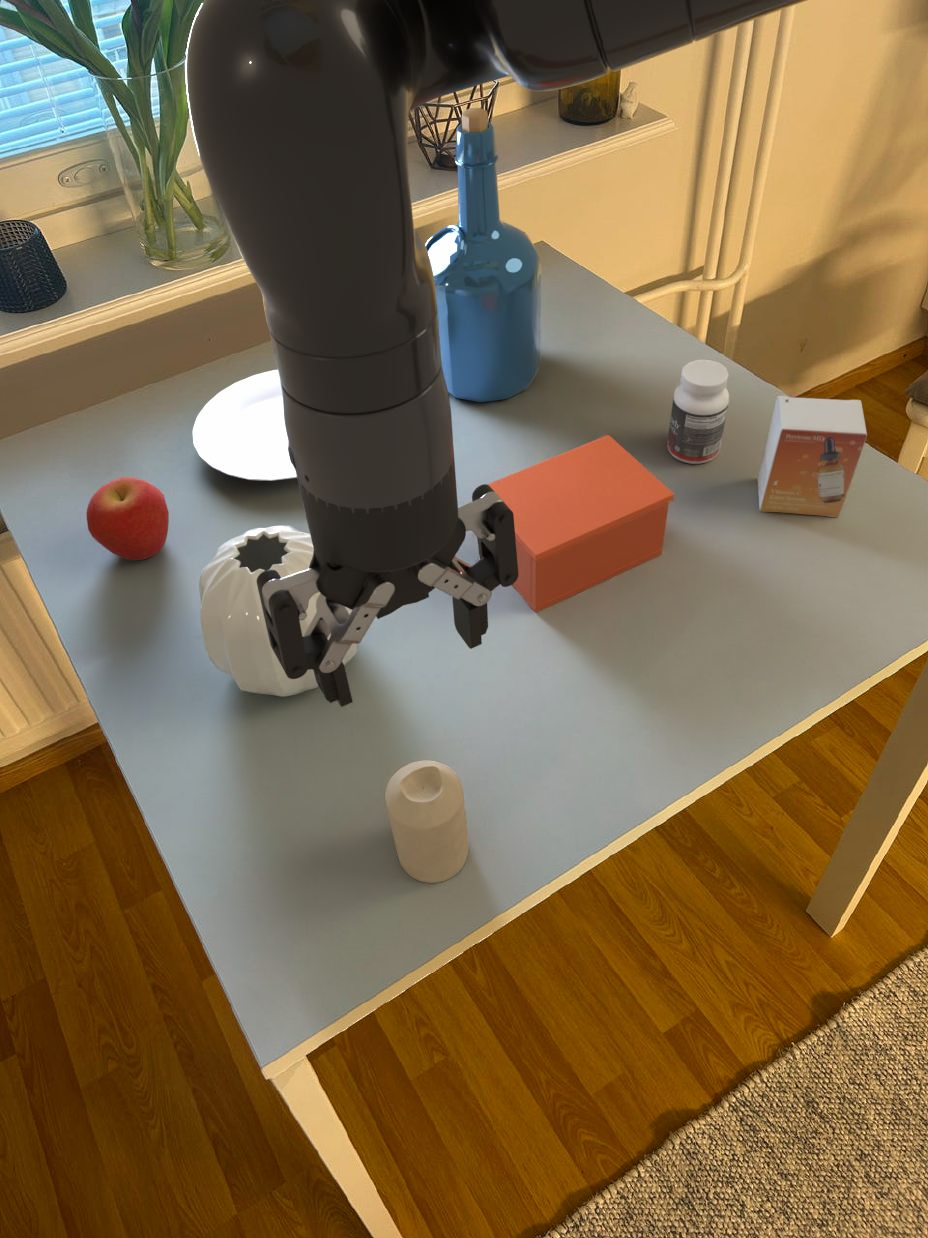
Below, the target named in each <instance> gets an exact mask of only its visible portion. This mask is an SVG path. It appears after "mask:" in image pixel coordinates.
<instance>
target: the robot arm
mask: <svg viewBox="0 0 928 1238" xmlns="http://www.w3.org/2000/svg"><path fill="white" fill-rule="evenodd" d="M807 1H808V0H203V1H202V3H201V4H200V6H199V8H198V10H197V12H196V14H195V17H194V20H193V22H192V25H191V29H190V32H189V37H188V41H187V46H186V47H187V48H186V55H185V56H186V57H185V85H186V87H185V88H186V96H187V103H188V104H187V105H188V109H189V117H190V122H191V128H192V133H193V137H194V141H195V145H196V148H197V152H198V156H199V159H200V162H201V166H202V167H203V171H204V174H205V176H206V179H207V181H208V184H209V186H210V189H211V191H212V193H213V196H214V198H215V200H216V203H217V206H218V207H219V209H220V211H221V214H222V216H223V218H224V220H225V222H226V224H227V227H228V229H229V231H230V233H231V236H232V237H233V240H234V242H235V244H236V247H237V249H238V251H239V253H240V255H241V257H242V261H244V264H245V266H246V268H247V269H248V271H249V273H250V275H251V276H252V278H253V280H254V281H255V283H256V285H257V287H258V288H259V291H260V292H261V295H262V302H263V304H262V305H263V309H264V316H265V320H266V324H267V327H268V328H267V329H268V332H269V336H270V341H271V345H272V350H273V354H274V358H275V363H276V367H277V370H278V372H279V376H280V382H281V388H282V396H283V412H284V423H285V428H286V433H287V438H288V453H289V457H290V461H291V464H293V467H294V469H295V472H296V476H297V478H296V480H297V484H298V489H299V492H300V496H301V497H300V498H301V502H302V505H303V510H304V512H305V513H304V514H305V517H306V522H307V526H308V532H309V534H310V535H311V540H312V544H313V548H314V552H313V557H312V560H311V562H310V566H309V569H306V570H304V571H301V572H298V573H295V574H292V575H289V576H287V577H284V578H281V577H280V575H279V573H278V572H277V571H276V570H266V571H264V572H262V573H261V574H260V575H259V576H258V578H257V586H258V591H259V595H260V600H261V604H262V609H263V614H264V618H265V623H266V627H267V632H268V636H269V641H270V645H271V647H272V649H273V651H274V653H275V655H276V657H277V658H278V660H279V662H280V664H281V666H282V668H283V670H284V671H285V673H286V675H287V677H288V678H290V679H297V678H300V677H302V676H303V675H304V674H305V673H306V672H307V670H310V669H313V671H314V675H315V679H316V682H317V684H318V688H319V690H320V691H321V694H322V695H323V697H324V699H325V700H326V701H327V702H329V703H330V704H332V703H334V702H337V703H338V705H339V706H340V707H341V708H343V707H346V706H348V705H351V704H352V703H354V702H353V701H354V700H353V696H352V691H351V687H350V684H349V679H348V676H347V671H346V667H345V665H344V664H343V663H342V660H343V658H344V657H345V655H346V653H347V652H348V650H349V648H350V646H351V645H352V644H357V645H359V644H360V643H361V642H362V641H363V639H364V637H365V636H366V634H367V632H368V630H369V629H370V628H371V625H372V624H373V622H374V620H375V619H376V618H377V619H378V620H379V619H382V618H385V617H386V616H389V615H391V614H392V613H394V612H396V611H397V610H398V609H400V608H402V607H404V606H407V605H411V604H416V603H419V602H421V601H423V600H426V599H428V598H430V592H431V593H432V591H433V590H435V589H437V590H439V591H441V592H443V593H445V594H447V595H448V596H450V597H451V600H452V610H453V611H452V612H453V622H454V627H455V629H456V632H457V634H458V635H459V636H460V638H461V639H462V640H463V642H464V643H465V645H466V646H467V647H468V649H470V650H472V649H474V648H476V647H478V646H481V645H482V644H483V642H482V636H483V635H485V634H486V633H487V631H488V629H489V621H488V620H489V617H488V616H489V615H488V614H489V612H488V603H489V601H490V600H491V598H492V595H493V594H492V592H493V591H494V590H495V589H496V588H498V587H499V586H501V587H503V588H508V587H511V586H513V585H512V584H514V583H515V582H516V580H517V579H518V575H519V574H518V562H517V551H516V539H515V527H514V515H513V512H512V511H511V509H510V508H509V507H508V506H507V505H506V504H505V502H504V501H503V500H502V499H501V498H500V497H499V496H498V494H497V493H496V492H495V491H494V490H493V489H492V488H491V487H490V486H489V485H487V484H488V483H487V484H485V483H483V484H480V485H479V486H476V488H475V489H474V490H473V492H472V494H471V500H472V501H471V502H469V503H465V504H464V505H462V506H460V507H459V505H458V503H459V502H458V492H457V491H458V490H457V489H458V488H457V477H456V475H457V474H456V462H455V449H454V433H453V420H452V409H451V407H452V406H451V402H450V401H451V400H450V393H448V389H447V385H446V381H445V377H444V373H443V368H442V361H441V348H440V335H439V322H438V309H437V297H436V288H435V279H434V274H433V269H432V265H431V261H430V258H429V254H428V251H427V248H426V246H425V244H426V243H425V241H424V240H423V239H422V238H421V236H420V234H419V233H418V232H417V231H416V230H415V225H414V224H415V223H414V216H413V215H414V213H413V206H412V196H411V195H412V194H411V186H410V174H409V173H410V172H409V149H408V148H409V147H408V143H409V142H408V141H409V140H408V139H409V138H408V127H409V126H408V124H409V116H410V112H411V111H413V110H414V109H416V108H418V107H420V106H422V105H425V104H426V103H429V102H431V101H433V100H436V99H438V98H442V97H444V96H448V95H451V94H455V93H457V92H460V91H463V90H464V91H465V90H467V89H470V88H473V87H476V86H480V85H483V84H487V83H490V82H494V81H496V80H501V79H503V78H506V77H507V78H508V77H511V78H512V79H513V81H515V82H516V83H518V84H519V85H521V86H522V87H524V88H526V89H528V90H531V91H534V92H552V91H557V90H562V89H566V88H571V87H574V86H579V85H582V84H585V83H588V82H591V81H594V80H596V79H597V80H598V79H600V78H602V77H605V76H607V75H608V74H609V73H610V72H613V73H616V72H618V71H622V70H624V69H627V68H629V67H632V66H635V65H638V64H640V63H642V62H646V61H648V60H651V59H653V58H656V57H659V56H661V55H664V54H666V53H669V52H672V51H675V50H678V49H680V48H684V47H686V46H689V45H691V44H693V43H694V42H696V43H697V42H699V41H702V40H704V39H707V38H710V37H712V36H715V35H717V34H720V33H723V32H726V31H728V30H731V29H733V28H736V27H739V26H741V25H745V24H747V23H749V22H752V21H754V20H757V19H760V18H763V17H766V16H768V15H771V14H774V13H777V12H778V11H782V10H784V9H787V8H790V7H793V6H796V5H798V4H802V3H804V2H807ZM469 531H471V532H472V533H473V534H474V535H475V537H476V539H477V540H476V541H477V548H478V555H479V560H478V561H476V562H475V563H474V564H472V565H470V564H469V563H468V562H465V561H464V560H462V559H460V558H458V557H457V556H456V555H457V553H458V551H459V550H460V548H461V546H462V545H463V543H464V542H465V539H466V536H467V534H466V533H467V532H469ZM317 592H320V595H319V597H318V599H317V602H316V609H317V611H316V614H315V616H314V618H313V620H312V622H311V623H310V625H309V627H308V629H307V631H306V632H305V634H304V636H302V632H301V626H300V621H299V620H304V619H305V618H306V617H307V614H306V612H305V611H306V610H307V608H308V602H309V599H310V598H311V597H312V596H313V595H314V594H315V593H317ZM345 607H347V608H349V609H351V610H352V611H351V613H350V614H349V613H348V611H347V610H346V608H345ZM330 633H331V635H330ZM329 635H330V638H329V640H328V639H327V638H328V636H329Z"/></svg>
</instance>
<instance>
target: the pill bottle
mask: <svg viewBox="0 0 928 1238" xmlns="http://www.w3.org/2000/svg"><path fill="white" fill-rule="evenodd" d="M680 373H681V374H680V379H679V381H680V383H679V384H678V385H677V386H676V388H675V390H674V392H673V396H672V404H671V410H670V411H671V412H670V418H669V426H668V434H667V441H666V443H667V444H666V447H667V450H668V452H669V454H670V455H671V456H672V457H673V458H674V459H676V460H678V461H680V462H682V463H685V464H692V465H698V464H700V465H701V464H705V463H708V462H710V461H712V460H714V459H715V458H716V457H717V456H718V454H719V453H720V450H721V446H722V440H723V435H724V430H725V424H726V419H727V414H728V409H729V403H730V393H729V391H728V389H727V386H728V381H729V370H728V369H727V367H726V366H724V364H722V363H720V362H718V361H715V360H712V359H696V360H695V359H694V360H692V361H689V362H688V363H685V365H683V367H682V370H681V372H680Z"/></svg>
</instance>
